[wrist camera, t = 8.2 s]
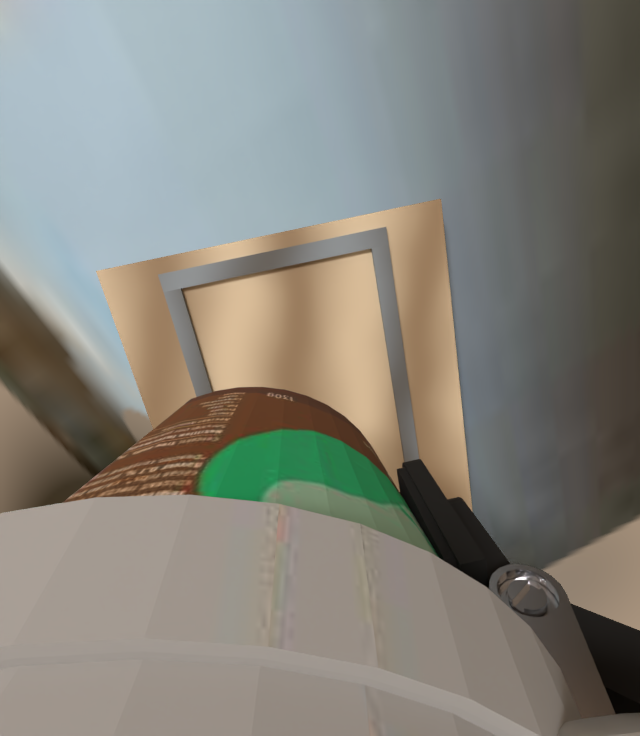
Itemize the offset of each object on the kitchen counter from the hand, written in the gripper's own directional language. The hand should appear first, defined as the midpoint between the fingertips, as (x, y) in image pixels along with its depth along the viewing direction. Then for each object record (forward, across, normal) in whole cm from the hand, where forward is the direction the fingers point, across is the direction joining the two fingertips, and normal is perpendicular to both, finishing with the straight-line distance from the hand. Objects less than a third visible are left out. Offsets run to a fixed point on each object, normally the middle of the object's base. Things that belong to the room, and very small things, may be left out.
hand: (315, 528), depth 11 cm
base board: (+10, 0, 0) cm, 10 cm away
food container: (+2, -1, 0) cm, 3 cm away
